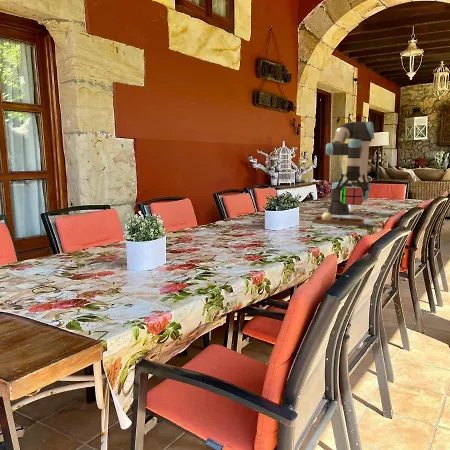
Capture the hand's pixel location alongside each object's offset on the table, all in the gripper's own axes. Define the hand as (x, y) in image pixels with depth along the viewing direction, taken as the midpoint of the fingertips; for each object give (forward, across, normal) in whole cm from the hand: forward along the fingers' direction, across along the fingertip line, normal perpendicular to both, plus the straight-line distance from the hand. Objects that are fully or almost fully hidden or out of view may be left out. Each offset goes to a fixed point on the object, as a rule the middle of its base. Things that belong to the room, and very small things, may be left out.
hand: (351, 201), depth 259 cm
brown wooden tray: (+14, -7, 0) cm, 16 cm away
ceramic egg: (+13, -14, 0) cm, 20 cm away
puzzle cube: (+2, 0, 0) cm, 2 cm away
